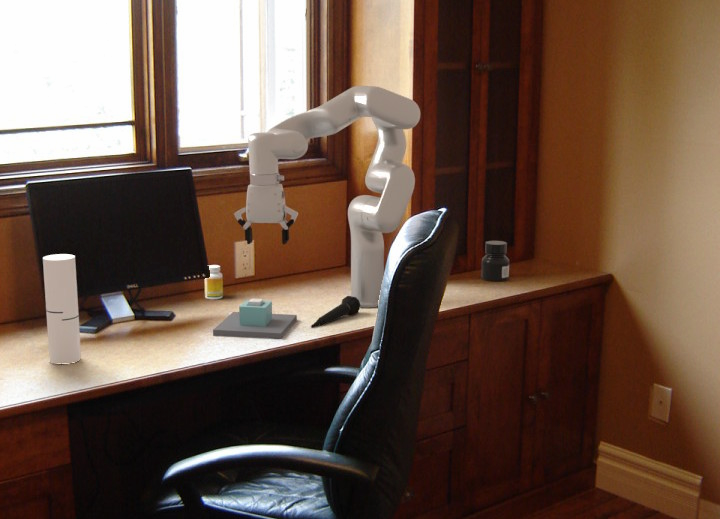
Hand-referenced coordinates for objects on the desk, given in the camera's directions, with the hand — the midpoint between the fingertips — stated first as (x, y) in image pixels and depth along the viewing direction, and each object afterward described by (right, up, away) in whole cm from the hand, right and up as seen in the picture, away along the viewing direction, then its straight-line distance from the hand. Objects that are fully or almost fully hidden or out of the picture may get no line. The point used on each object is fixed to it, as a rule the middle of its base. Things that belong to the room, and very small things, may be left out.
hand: (267, 243), depth 258 cm
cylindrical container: (-45, -28, -30) cm, 61 cm away
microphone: (+18, -21, +7) cm, 28 cm away
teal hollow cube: (-3, -21, -2) cm, 21 cm away
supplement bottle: (-19, -16, +30) cm, 39 cm away
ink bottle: (+69, -11, +55) cm, 89 cm away
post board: (-3, -22, -2) cm, 23 cm away
